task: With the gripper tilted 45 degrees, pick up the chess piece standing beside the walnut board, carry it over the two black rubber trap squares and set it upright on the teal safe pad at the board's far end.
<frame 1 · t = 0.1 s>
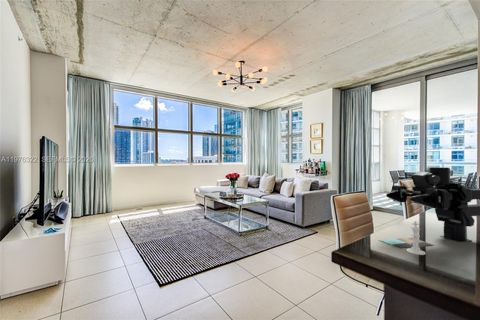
hand: (398, 197, 78), 17 cm above the table, tool horizontal, fingers open, 9 cm apart
chess piece: (415, 254, 70), on the table
near trap: (421, 244, 76), resting on walnut board
safe pad: (392, 241, 79), resting on walnut board
far trap: (404, 246, 74), resting on walnut board
walnut board: (406, 244, 78), on the table
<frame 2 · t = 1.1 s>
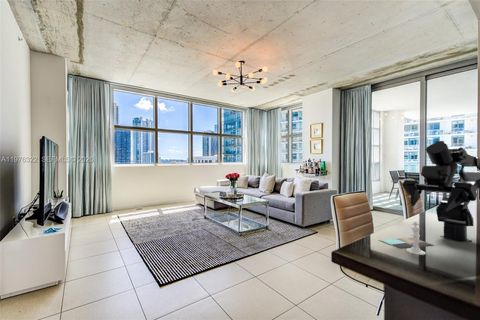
hand: (427, 208, 74), 14 cm above the table, tool tilted 45°, fingers open, 9 cm apart
nothing on the table moved.
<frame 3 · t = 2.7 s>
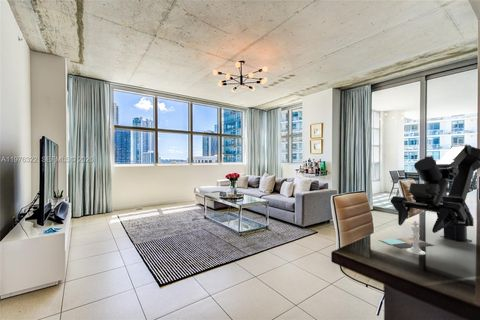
hand: (415, 228, 70), 8 cm above the table, tool tilted 45°, fingers open, 9 cm apart
nothing on the table moved.
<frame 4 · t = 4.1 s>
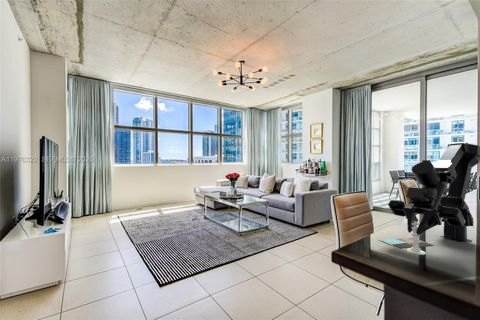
hand: (413, 232, 69), 7 cm above the table, tool tilted 45°, fingers closed on chess piece
chess piece: (415, 254, 70), on the table, touching gripper
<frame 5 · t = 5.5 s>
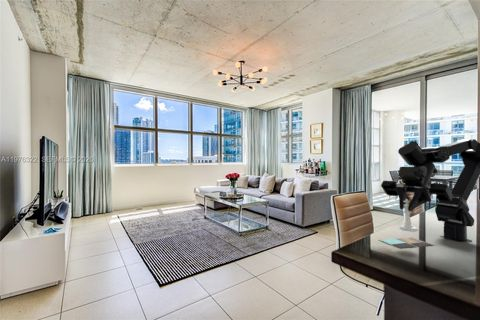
hand: (404, 209, 72), 13 cm above the table, tool tilted 45°, fingers closed on chess piece
chess piece: (408, 230, 73), point 6 cm above the table, touching gripper
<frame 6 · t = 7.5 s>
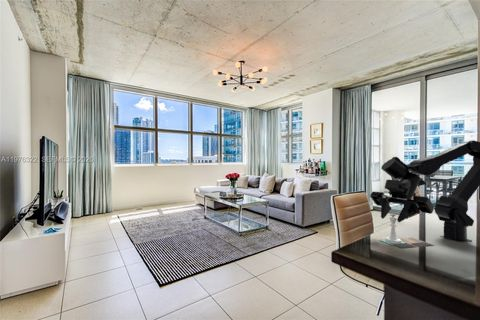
hand: (389, 219, 78), 9 cm above the table, tool tilted 45°, fingers open, 5 cm apart
chess piece: (393, 241, 78), point 1 cm above the table, touching safe pad
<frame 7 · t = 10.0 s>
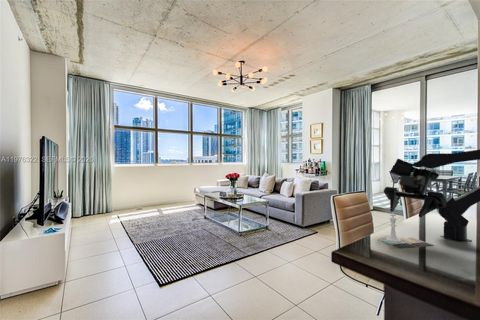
hand: (404, 213, 82), 10 cm above the table, tool tilted 45°, fingers open, 9 cm apart
nothing on the table moved.
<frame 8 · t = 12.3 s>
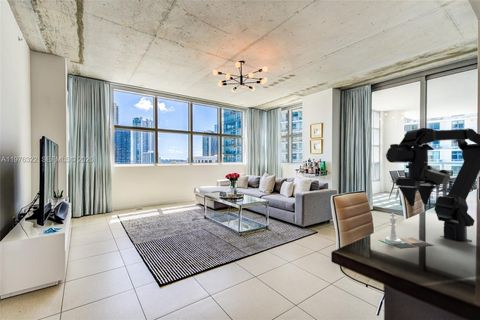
hand: (418, 205, 82), 13 cm above the table, tool pointing down, fingers open, 9 cm apart
nothing on the table moved.
at the end: chess piece 0.6 cm from the target spot, point 0.6 cm above the table; chess piece tilted 0°; the gripper is holding nothing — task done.
